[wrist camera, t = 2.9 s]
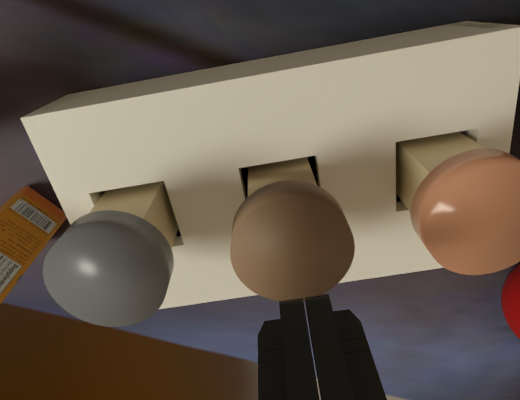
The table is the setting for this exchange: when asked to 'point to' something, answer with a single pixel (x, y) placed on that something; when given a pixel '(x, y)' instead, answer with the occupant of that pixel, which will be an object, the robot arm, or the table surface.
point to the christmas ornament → (512, 300)
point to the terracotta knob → (461, 201)
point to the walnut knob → (289, 234)
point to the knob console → (284, 139)
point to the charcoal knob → (115, 257)
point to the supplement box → (24, 233)
